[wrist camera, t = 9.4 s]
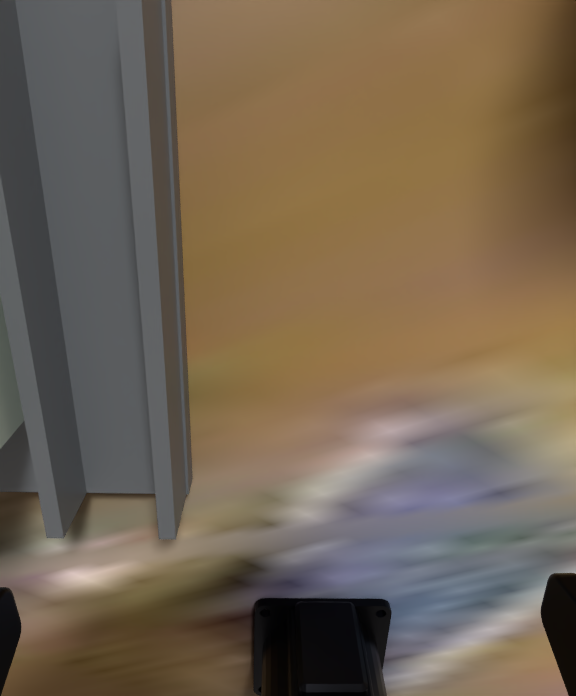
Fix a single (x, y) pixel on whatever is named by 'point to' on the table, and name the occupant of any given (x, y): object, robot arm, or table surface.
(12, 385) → the pale grey rectangular block
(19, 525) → the table surface
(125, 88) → the dish rack
